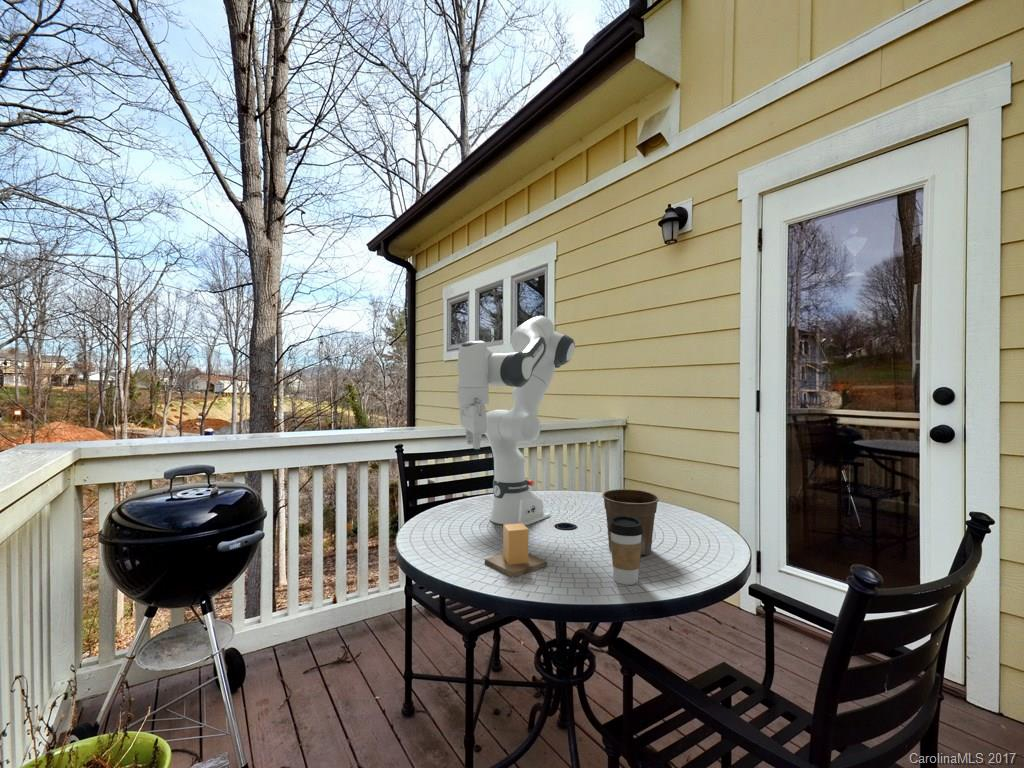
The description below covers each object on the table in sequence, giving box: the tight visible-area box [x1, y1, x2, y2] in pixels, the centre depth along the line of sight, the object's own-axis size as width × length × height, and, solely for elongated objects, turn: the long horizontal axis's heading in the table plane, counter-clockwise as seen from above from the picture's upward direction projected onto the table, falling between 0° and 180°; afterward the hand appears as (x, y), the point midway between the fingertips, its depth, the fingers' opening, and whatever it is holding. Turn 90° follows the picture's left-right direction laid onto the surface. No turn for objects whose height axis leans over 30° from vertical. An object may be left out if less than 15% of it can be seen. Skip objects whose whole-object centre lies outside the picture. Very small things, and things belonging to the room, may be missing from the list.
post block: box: [484, 552, 548, 578], centre depth 130 cm, size 12×12×6 cm
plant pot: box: [602, 488, 660, 557], centre depth 141 cm, size 16×16×16 cm
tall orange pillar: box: [502, 523, 529, 565], centre depth 130 cm, size 6×6×9 cm
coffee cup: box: [609, 516, 643, 586], centre depth 120 cm, size 8×8×15 cm
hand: (473, 446), depth 136 cm, fingers open, 8 cm apart
